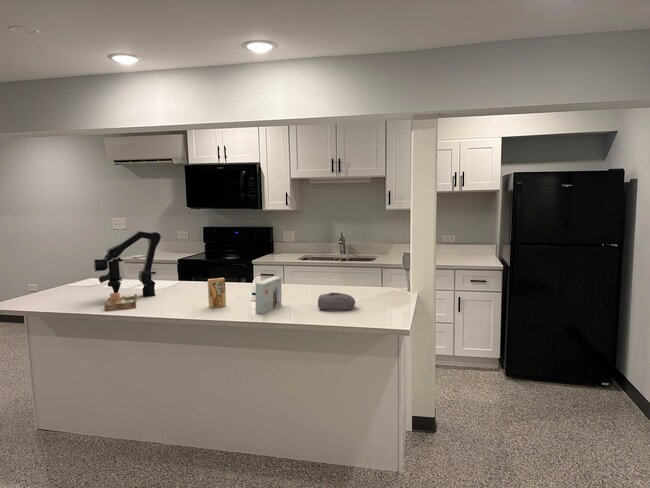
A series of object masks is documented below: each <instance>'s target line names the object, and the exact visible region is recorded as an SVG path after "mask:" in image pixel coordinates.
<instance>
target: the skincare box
mask: <svg viewBox="0 0 650 488" xmlns="http://www.w3.org/2000/svg"><path fill="white" fill-rule="evenodd" d="M282 280H283V279H282V276H275V275H274V276H271V277H269V278H266V279H263V280H260V281H258V282H255V314H262V315H264V314H266V313H268V312H270V311H272V310H274V309H276V308H277V306H278V307H280V306H281V305H282ZM279 305H280V306H279Z"/></svg>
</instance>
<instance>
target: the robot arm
mask: <svg viewBox="0 0 650 488" xmlns="http://www.w3.org/2000/svg"><path fill="white" fill-rule="evenodd" d="M161 238H162V236H161V234H160V233H159V232H156V231H151V232H145V231H141V230H138V231H136V232H135V233H134V234H133V235H131V236H130V237H128V238H126V239H125V240H124V241H123V242H121V243H119V244H117V245H114V246H112V247H110V248H108V249H107V251H106V255H105V256H104V258H101V259H94V262H93V270H94V272H102V271H106V270H107V269H108V272H107V274H102V275H100V276H99V277H98V281H99V282H100V284H103V283H104V282H105V283H106V282H107V281H108V282H107V287H110V288H112V290H113V293H119V290H120V288H121V284H122V281H123V278H122V276H121V273H120V272H121V269H120V262H123V261H124V260H123V259H122V258H121V257H120V256H121V254H122V253H123V252H124V251H125V250H126V249H127V248H129V247H131V246H132V245H133V244H135V243H137V242H138V241H139V240H141V239H147V242H148V247H147V252H146V255H145V261H144V265H143V268H142V270H138V271H139V272H138V275H137V278H138V280H139V282H140V283H141V284H142V285H143V287H142V296H143V297H144V298H145V297H155V296H156V291H155V285H156V282H155V281H154V280H152V268H153V263H154V258H155V253H156V250H157V247H158V245H159V243H160V241H161Z"/></svg>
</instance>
